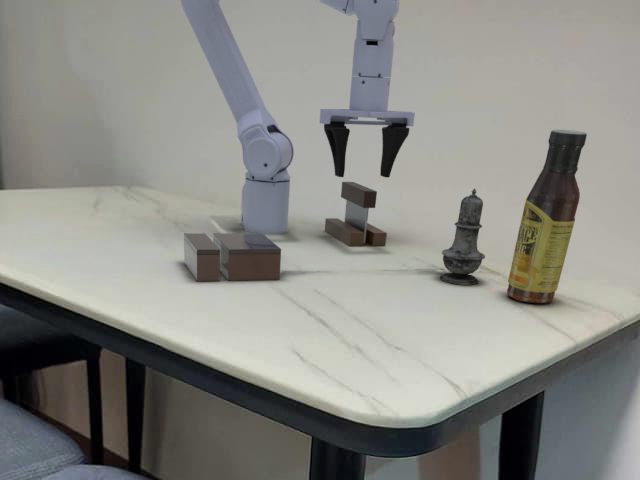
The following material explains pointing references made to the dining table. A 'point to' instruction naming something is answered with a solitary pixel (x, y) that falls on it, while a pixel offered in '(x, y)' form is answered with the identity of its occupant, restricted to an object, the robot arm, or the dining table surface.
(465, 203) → the salt shaker
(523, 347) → the dining table surface
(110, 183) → the dining table surface
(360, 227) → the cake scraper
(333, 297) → the dining table surface
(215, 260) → the brown rectangular block
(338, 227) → the knife stand
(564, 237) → the sauce bottle
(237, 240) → the brown lidded box
